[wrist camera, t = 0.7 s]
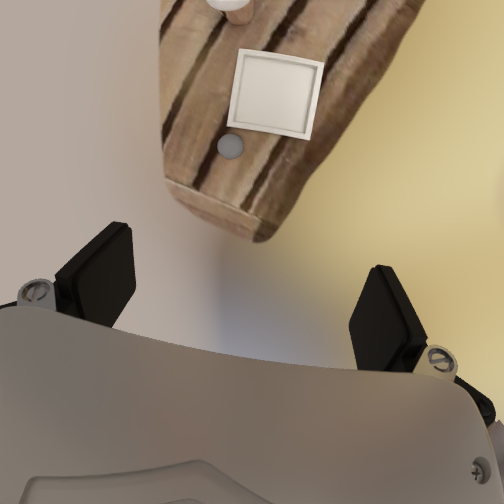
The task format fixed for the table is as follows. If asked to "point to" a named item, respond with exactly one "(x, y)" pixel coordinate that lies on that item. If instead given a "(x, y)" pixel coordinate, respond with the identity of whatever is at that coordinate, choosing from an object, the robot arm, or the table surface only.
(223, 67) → the table surface
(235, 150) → the ball
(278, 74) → the tray
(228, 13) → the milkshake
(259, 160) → the table surface
